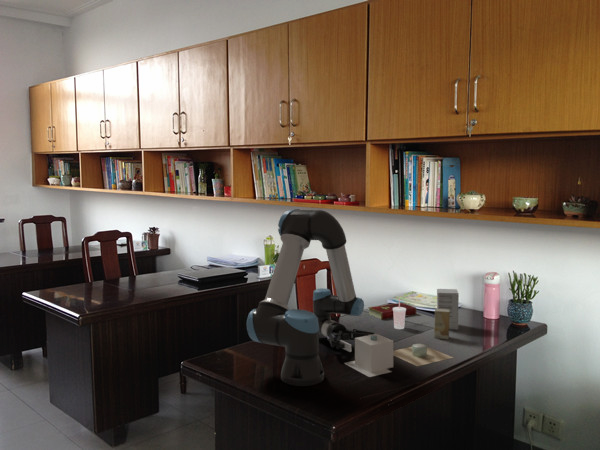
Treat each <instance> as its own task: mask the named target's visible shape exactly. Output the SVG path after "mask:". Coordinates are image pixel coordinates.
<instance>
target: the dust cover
mask: <svg viewBox="0 0 600 450" xmlns="http://www.w3.org/2000/svg"><path fill="white" fill-rule="evenodd" d="M393 351H394V340H393V339H390V338H388V337H385V336H382V335H380V334H378V333H374V334H373V335H368V336H362V337H357V338H355V339H354V361H355V364H356V365H358V366H359V367H361V368H363V369H365V370H367V371H369V372H371V373H372V372H376V371H380V370H385V369H391V368H394V355H393Z"/></svg>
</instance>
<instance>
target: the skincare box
mask: <svg viewBox="0 0 600 450" xmlns="http://www.w3.org/2000/svg"><path fill="white" fill-rule="evenodd" d="M449 317H450V310H448V309H437V308H434V323H433V324H434V327H433V338H434V339H440V340H449V339H450V329H449Z"/></svg>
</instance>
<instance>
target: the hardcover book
mask: <svg viewBox="0 0 600 450" xmlns="http://www.w3.org/2000/svg"><path fill="white" fill-rule="evenodd" d="M394 307H399V302H398V303H397V302H396V303H391V304H390V303H389V304H382V305H376V306H369V307H367V309H368V315H369V314H370V316H372V315H373V316H372V317H374V316H375V318H377V319H379V318H380V320H381V321H382V320H383V319H384V320H389V319H388V318H390V319H394V315H393V308H394ZM400 307H403V308H406V311H405V317H407V316H406V315H409V316H413V315H412V314H415V315H417V307H416V306H413V305H410V304H408V303H404V302H400Z"/></svg>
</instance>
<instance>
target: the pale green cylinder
mask: <svg viewBox="0 0 600 450" xmlns="http://www.w3.org/2000/svg"><path fill="white" fill-rule="evenodd" d="M411 347H412V355H413V356H415V357H426V356H427V347H428V346H427V345H426V344H423V343H414V344H412V346H411Z"/></svg>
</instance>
